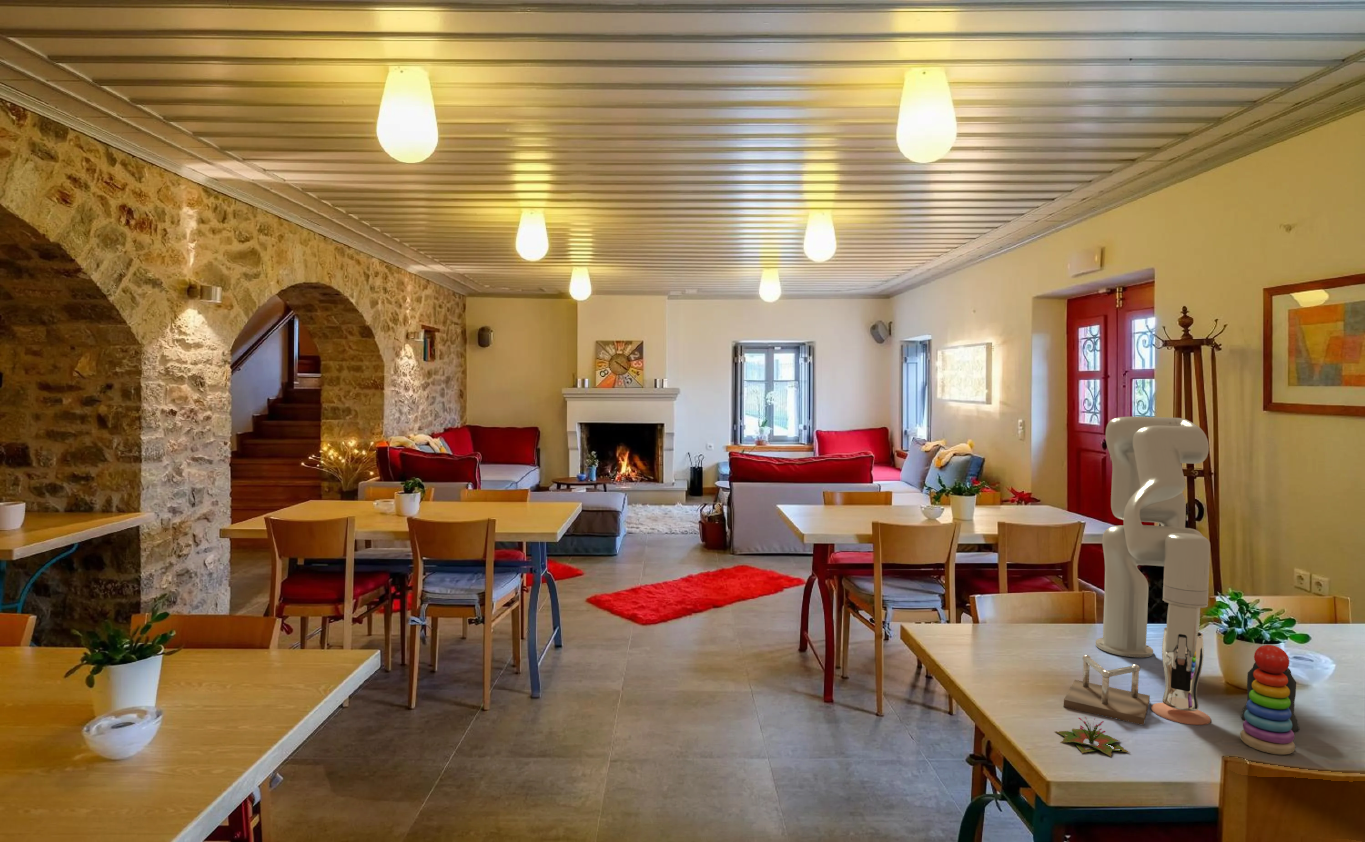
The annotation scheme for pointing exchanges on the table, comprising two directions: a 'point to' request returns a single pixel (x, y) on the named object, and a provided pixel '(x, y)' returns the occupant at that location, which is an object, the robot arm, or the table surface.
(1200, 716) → the pad
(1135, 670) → the bent wire
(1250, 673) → the mug
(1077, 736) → the lily flower
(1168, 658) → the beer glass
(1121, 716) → the board
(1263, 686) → the stacking toy
